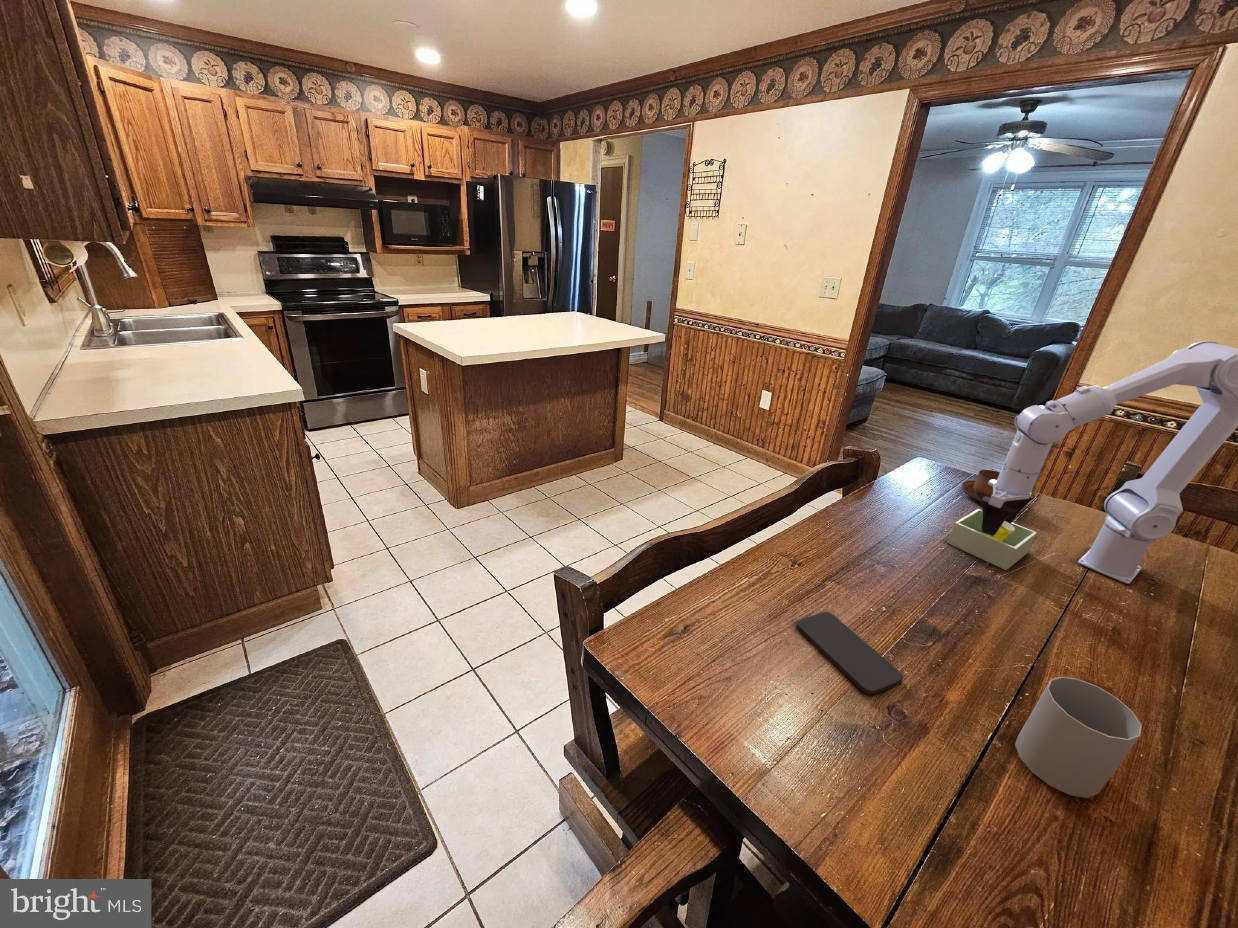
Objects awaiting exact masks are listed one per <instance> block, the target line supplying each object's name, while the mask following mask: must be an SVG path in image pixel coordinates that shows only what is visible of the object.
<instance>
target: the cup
mask: <svg viewBox="0 0 1238 928" xmlns="http://www.w3.org/2000/svg"><path fill="white" fill-rule="evenodd" d="M1141 733H1142V724H1141V722H1140V720H1139V719H1138V718H1137V716H1136V714H1135V713H1134V711H1133V710H1131V708H1129V707H1128V706H1127V705H1125V703H1123V702H1122V701H1121V700H1120V699H1119V698H1118V697H1116V696H1115V695H1114V694H1111V693H1110V692H1108V691H1106V690H1104V689H1103V688H1102V687H1100V686H1098V685H1095V684H1092V683H1090V682H1087V681H1084V680H1082V679H1080V678H1074V677H1068V676H1059V677H1055V678H1051V679H1050V680H1049V681H1048V683H1047V685H1046V687H1045V688H1044V690H1043V692H1042V693H1041V695H1040V697H1039V699H1038V701H1037V702H1036V704H1035V706H1034V708H1033V709H1032V711H1031V713H1030V714H1029V716H1028V717H1027V720H1026V721H1025V723H1024V725H1023V727H1022V729H1020V732H1019V734H1018V735H1017V738H1016V741H1015V743H1014V746H1015V749H1016V751H1017V754H1018V757H1019V759H1020V760H1021V761H1022V762H1023V764H1024V765H1025V766H1026V767H1027V768H1028V769H1029V771H1030V772H1031V773H1032V774H1034V775H1035V776H1036V777H1037V778H1039V779H1040V780H1042V781H1043V782H1044V783H1045V784H1047V785H1048V786H1050V787H1052V788H1054V789H1056V790H1058V791H1060V792H1062V793H1064V794H1066V795H1068V796H1074V797H1079V798H1085V799H1089V798H1091V797H1093V796H1095V795H1098V794H1099V793H1101V791H1102V789H1103V788H1104V787H1105V785H1106V784H1107V782H1108V781H1109V779H1110V778H1111V777H1112V776H1113V774H1114V773H1115V771H1116V770H1117V769H1118V767H1120V764H1122V762H1123V760H1124V759H1125V757H1127V755H1128V753H1129V752H1130V751H1131V750H1132V748H1133V747H1134V745H1136V742H1137V741H1138V740H1139V738H1141Z"/></svg>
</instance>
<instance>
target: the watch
mask: <svg viewBox="0 0 1238 928" xmlns="http://www.w3.org/2000/svg"><path fill="white" fill-rule="evenodd" d="M1014 530H1015V528H1014V527H1013V526H1012V525H1011V524H1010V523H1008V522H1006V521H1004V522H1003V524H1002V525H1001V527H1000V528H999V530H998V531H997V533H996V534H995V535H993V536H991V535H989V534H988V535H987V536H989V537H992V538H994V539H996V540H999V541H1001V542H1002V541H1003V540H1004V539H1005V538H1007V537H1008V535H1009V534H1010V533H1012V532H1013V531H1014Z"/></svg>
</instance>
